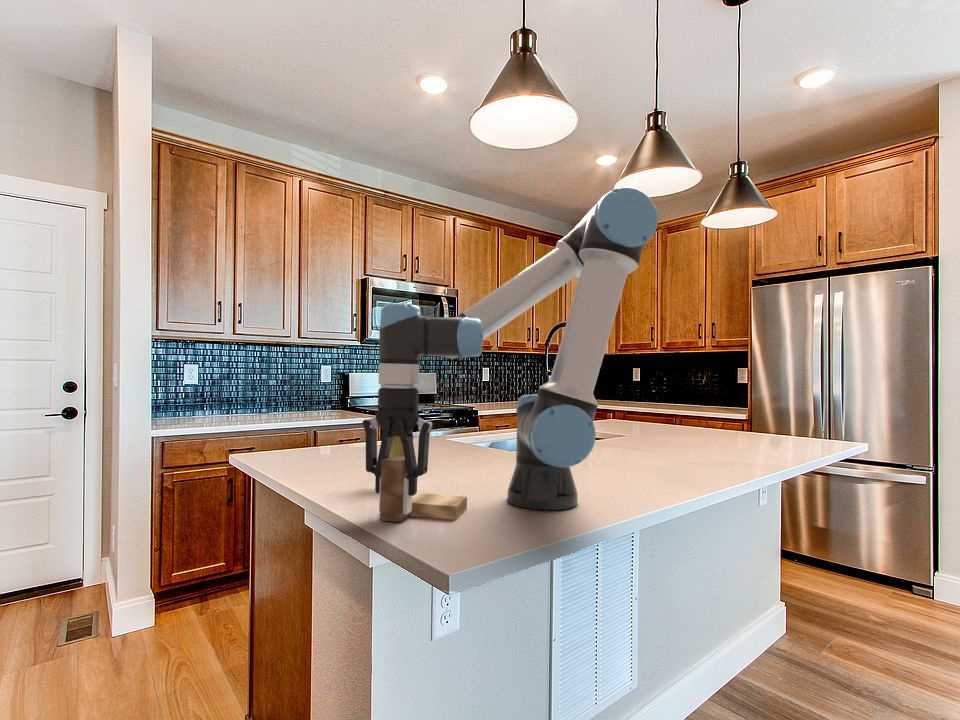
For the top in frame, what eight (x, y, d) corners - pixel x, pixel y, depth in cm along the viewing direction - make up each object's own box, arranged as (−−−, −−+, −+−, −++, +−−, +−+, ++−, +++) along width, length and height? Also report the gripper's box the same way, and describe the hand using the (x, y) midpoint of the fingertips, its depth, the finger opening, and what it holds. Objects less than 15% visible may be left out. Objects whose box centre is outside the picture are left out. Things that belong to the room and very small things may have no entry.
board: (466, 509, 107) (467, 496, 107) (455, 519, 99) (456, 506, 99) (402, 503, 110) (402, 491, 110) (386, 513, 102) (386, 500, 102)
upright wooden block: (419, 508, 105) (420, 453, 106) (400, 522, 96) (401, 461, 96) (400, 506, 106) (401, 452, 107) (379, 520, 97) (381, 460, 97)
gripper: (447, 387, 101) (445, 510, 100) (365, 385, 105) (362, 503, 104) (435, 388, 93) (432, 520, 93) (347, 386, 97) (344, 512, 97)
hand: (395, 511), depth 99 cm, fingers closed on upright wooden block, 4 cm apart
